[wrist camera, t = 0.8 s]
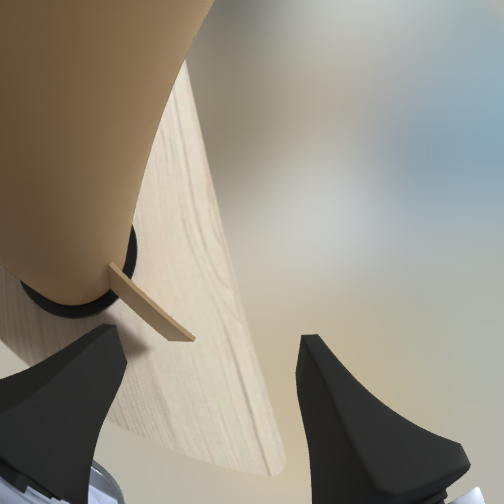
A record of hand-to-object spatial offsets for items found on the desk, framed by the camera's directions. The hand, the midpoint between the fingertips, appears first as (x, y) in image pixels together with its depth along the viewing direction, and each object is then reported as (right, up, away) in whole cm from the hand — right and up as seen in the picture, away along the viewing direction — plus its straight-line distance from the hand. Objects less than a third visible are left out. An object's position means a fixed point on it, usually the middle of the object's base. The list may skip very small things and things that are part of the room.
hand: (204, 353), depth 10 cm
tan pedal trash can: (-11, +2, +10) cm, 15 cm away
